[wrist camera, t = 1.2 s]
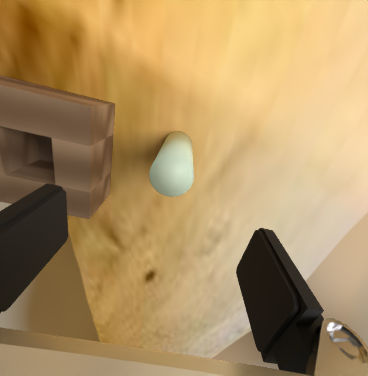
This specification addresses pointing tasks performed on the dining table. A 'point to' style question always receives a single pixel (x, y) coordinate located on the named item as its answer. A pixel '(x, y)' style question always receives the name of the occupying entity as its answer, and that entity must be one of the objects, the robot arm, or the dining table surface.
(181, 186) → the peg
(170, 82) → the dining table surface
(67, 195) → the socket block
